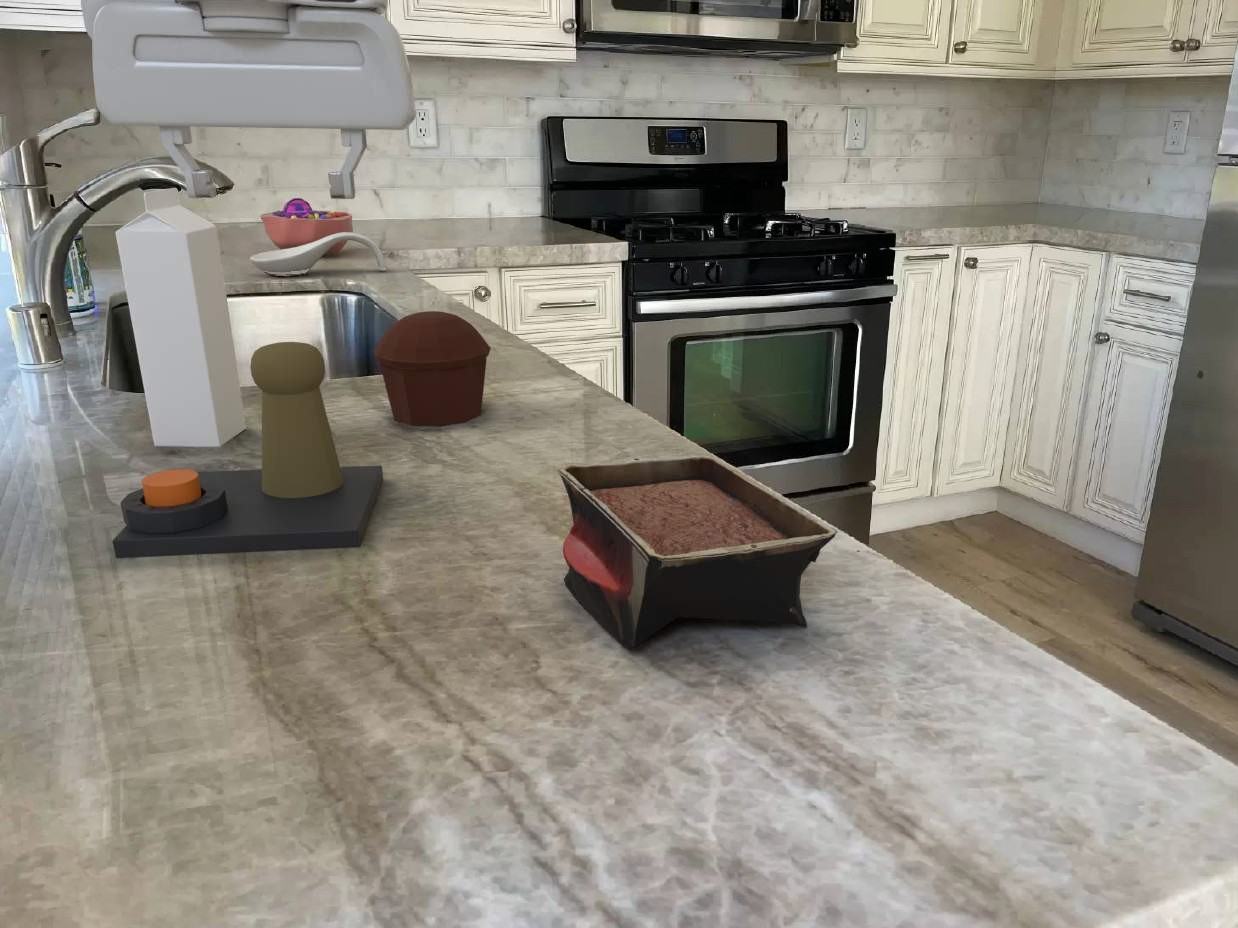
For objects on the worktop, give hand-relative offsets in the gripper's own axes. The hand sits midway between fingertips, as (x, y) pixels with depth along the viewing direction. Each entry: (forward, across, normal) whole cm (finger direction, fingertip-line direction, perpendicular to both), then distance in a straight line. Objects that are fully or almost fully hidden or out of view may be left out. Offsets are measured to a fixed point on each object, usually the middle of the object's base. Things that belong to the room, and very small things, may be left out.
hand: (273, 198), depth 71 cm
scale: (+23, -3, -3) cm, 23 cm away
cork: (+22, 0, 0) cm, 22 cm away
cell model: (+23, -26, +148) cm, 152 cm away
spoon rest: (+23, -20, +122) cm, 126 cm away
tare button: (+20, -8, -6) cm, 22 cm away
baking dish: (+23, +26, -21) cm, 41 cm away
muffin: (+23, +8, +24) cm, 34 cm away
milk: (+23, -13, +18) cm, 32 cm away
